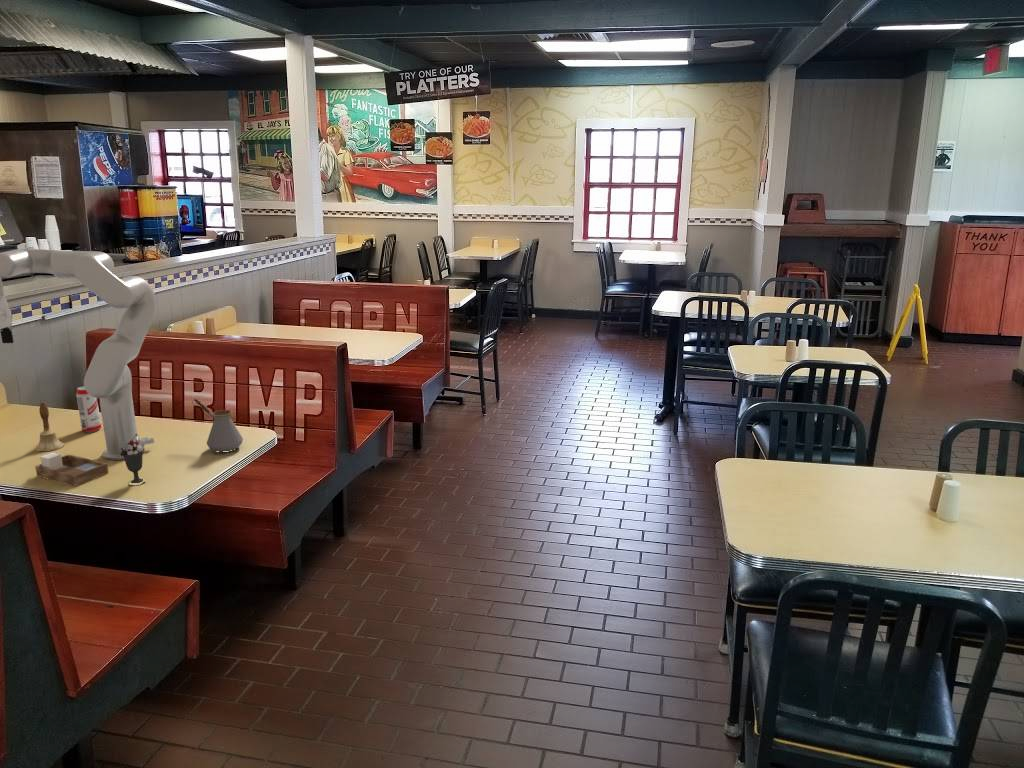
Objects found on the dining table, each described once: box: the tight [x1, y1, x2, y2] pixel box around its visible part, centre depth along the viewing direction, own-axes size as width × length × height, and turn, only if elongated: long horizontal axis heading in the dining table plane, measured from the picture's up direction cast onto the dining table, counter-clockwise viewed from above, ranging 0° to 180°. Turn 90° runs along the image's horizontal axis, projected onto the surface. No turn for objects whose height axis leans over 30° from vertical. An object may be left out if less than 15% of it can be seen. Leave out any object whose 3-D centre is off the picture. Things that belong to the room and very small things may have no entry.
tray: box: [35, 454, 109, 487], centre depth 237 cm, size 18×11×3 cm, turn 64°
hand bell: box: [35, 401, 65, 452], centre depth 257 cm, size 8×8×16 cm
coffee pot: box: [191, 398, 244, 452], centre depth 259 cm, size 21×12×15 cm, turn 54°
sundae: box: [120, 433, 146, 483], centre depth 230 cm, size 7×7×15 cm
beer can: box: [75, 385, 102, 433], centre depth 274 cm, size 6×6×16 cm
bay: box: [75, 463, 98, 471], centre depth 238 cm, size 5×5×2 cm
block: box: [40, 451, 63, 470], centre depth 237 cm, size 4×4×4 cm
